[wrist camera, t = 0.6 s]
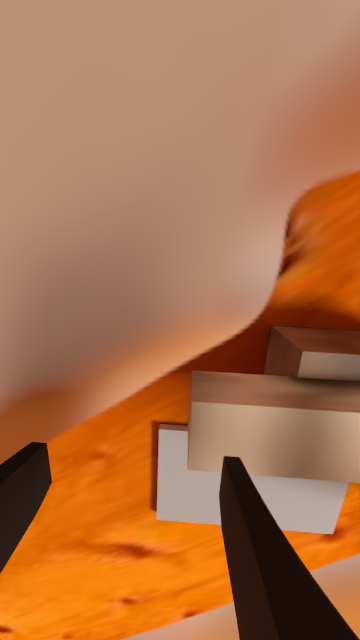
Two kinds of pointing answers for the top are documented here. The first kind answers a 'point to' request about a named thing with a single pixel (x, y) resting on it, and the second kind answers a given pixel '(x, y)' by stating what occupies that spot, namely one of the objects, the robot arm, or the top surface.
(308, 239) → the top surface
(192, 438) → the bar
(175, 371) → the top surface
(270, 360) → the holder
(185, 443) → the mat
